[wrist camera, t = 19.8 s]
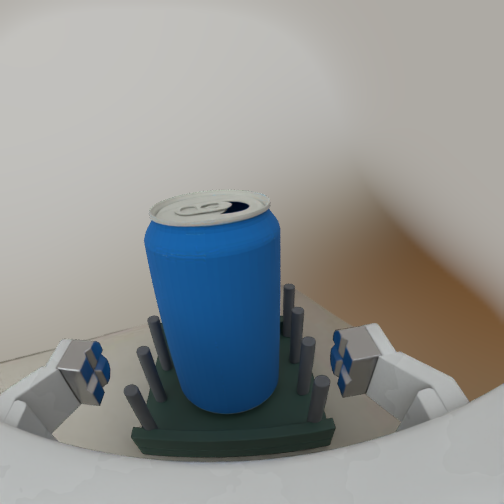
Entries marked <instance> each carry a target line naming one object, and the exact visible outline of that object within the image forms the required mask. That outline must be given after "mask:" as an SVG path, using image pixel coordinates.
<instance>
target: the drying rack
mask: <svg viewBox="0 0 504 504" xmlns="http://www.w3.org/2000/svg"><path fill="white" fill-rule="evenodd" d="M294 296H295V286H294V285H293V284H285V285H284V298H283V316H280V345H279V378H278V383H277V386H276V388H275V390H274V392H273V393H272V395H271V396H270V397H269V398H268V399H267V400H266V401H264V402H263V403H262V404H260V405H259V406H257V407H255V408H253V409H251V410H248V411H245V412H240V413H234V414H219V413H213V412H209V411H206V410H203V409H201V408H199V407H197V406H196V405H194V404H193V403H192V402H191V401H190V400H188V399H187V397H186V396H185V395H184V393H183V391H182V389H181V386H180V383H179V379H178V376H177V373H176V370H175V367H174V363H173V360H172V357H171V353H170V350H169V346H168V343H167V339H166V335H165V332H164V328H163V324H162V323H160V320H159V317H158V316H151V317H149V318H148V325H149V328H150V332H151V335H152V338H153V341H154V345H155V348H156V351H157V354H158V358H157V362H156V366H155V363H154V360H153V358H152V355H151V352H150V349H149V348H148V347H147V346H141V347H139V348H138V349H137V355H138V358H139V361H140V363H141V366H142V368H143V371H144V373H145V376H146V378H147V381H148V383H149V385H150V392H149V396H148V400H147V405H146V403H145V401H144V399H143V397H142V395H141V393H140V391H139V388H138V387H137V386H136V385H133V384H131V385H128V386H126V387H125V388H124V394H125V396H126V398H127V400H128V402H129V403H130V405H131V407H132V409H133V411H134V412H135V414H136V416H137V418H138V419H139V421H140V423H141V425H142V428H138V427H133V430H132V435H131V438H132V439H133V441H134V442H135V444H136V445H137V446H138V448H139V449H140V450H141V452H142V453H143V454H150V455H161V456H177V457H239V456H254V455H266V454H276V453H284V452H292V451H299V450H305V449H311V448H317V447H322V446H327V445H330V442H331V440H332V437H333V434H334V431H335V428H336V427H335V424H334V421H333V418H328V419H326V415H325V412H324V407H325V403H326V399H327V395H328V390H329V386H330V379H329V378H328V377H327V376H324V375H319V376H317V377H316V378H315V379H314V377H313V373H312V367H313V360H314V352H315V344H316V341H315V339H314V338H312V337H304V338H303V339H302V333H303V320H304V309H303V308H301V307H294Z"/></svg>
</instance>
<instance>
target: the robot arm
mask: <svg viewBox="0 0 504 504" xmlns="http://www.w3.org/2000/svg"><path fill="white" fill-rule="evenodd" d="M333 341H334V343H335V345H334V346H333V347H332V348H331V354H330V362H331V367H332V371H333V374H334V375H336V376H337V377H339V379H338V383H337V384H338V387H339V389H340V392H341V394H342V397H343V398H345V397H350V396H356V395H361V394H366V395H367V396H368V397H369V398H371V399H372V400H373V401H375V402H376V403H377V404H378V405H380V406H381V407H382V408H384V409H385V410H386V411H387V412H389V413H390V414H391V415H393V416H394V417H395V418H397V419H398V420H399V421H401V423H400V425H399V427H398V428H397V430H396V432H395V433H392V434H389V435H386V436H383V437H379V438H376V439H372V440H369V441H365V442H361V443H357V444H353V445H349V446H345V447H341V448H336V449H331V450H326V451H321V452H316V453H310V454H304V455H297V456H290V457H282V458H274V459H264V460H251V461H232V462H186V461H168V460H156V459H146V458H137V457H130V456H123V455H116V454H111V453H105V452H100V451H95V450H90V449H86V448H81V447H77V446H73V445H69V444H65V443H62V442H58V440H57V439H56V438H55V437H54V436H53V435H52V433H53V432H54V431H55V430H56V429H57V428H58V427H59V426H60V425H61V424H62V423H63V422H64V421H65V420H66V419H67V418H68V417H69V416H70V415H71V414H72V413H73V412H74V411H75V410H76V409H77V408H78V407H79V406H80V405H81V404H87V405H96V406H100V404H101V401H102V399H103V396H104V393H105V392H104V390H103V387H104V386H105V385H107V384H108V382H109V379H110V366H109V363H108V360H107V359H106V358H105V357H104V356H103V355H102V354H101V353H102V351H103V349H102V347H101V345H100V343H99V342H97V341H87V340H72V339H63V340H61V341H60V343H59V344H58V346H57V348H56V349H55V351H54V352H53V354H52V356H51V357H50V359H49V361H48V362H47V364H46V366H45V367H43V366H42V367H40V368H39V369H37V370H36V371H34V372H33V373H31V374H29V375H28V376H26V377H25V378H23V379H22V380H20V381H19V382H17V383H16V384H14V385H13V386H11V387H10V388H8V389H7V390H5V391H3V392H2V393H1V394H0V504H504V383H503V384H502V385H500V386H498V387H497V388H495V389H493V390H491V391H490V392H488V393H486V394H484V395H482V396H480V397H478V398H476V399H475V400H473V401H471V402H469V401H468V399H467V397H466V396H465V394H464V393H463V392H462V390H461V389H460V387H459V386H458V384H457V383H456V381H455V380H454V378H452V377H450V376H448V375H446V374H444V373H442V372H440V371H438V370H436V369H434V368H432V367H430V366H428V365H426V364H424V363H422V362H420V361H418V360H416V359H414V358H412V357H410V356H408V355H406V354H404V353H402V352H396V351H395V349H394V348H393V346H392V345H391V343H390V342H389V340H388V338H387V337H386V335H385V334H384V332H383V331H382V330H381V328H380V327H379V325H378V324H376V323H373V324H368V325H363V326H358V327H351V328H345V329H338V330H335V332H334V335H333Z"/></svg>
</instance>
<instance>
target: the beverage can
mask: <svg viewBox="0 0 504 504" xmlns="http://www.w3.org/2000/svg"><path fill="white" fill-rule="evenodd" d="M269 207H270V199H269V197H267V196H266V195H264V194H261V193H257V192H252V191H244V190H213V191H203V192H195V193H189V194H184V195H180V196H176V197H172V198H169V199H166V200H164V201H161V202H159V203H157V204H155V205H154V206H152V208H150V210H149V216H150V219H151V223H150V225H149V227H148V228H147V231H146V234H145V238H144V242H145V248H146V254H147V259H148V264H149V268H150V273H151V278H152V283H153V287H154V291H155V295H156V300H157V304H158V308H159V312H160V316H161V320H162V324H163V328H164V332H165V335H166V339H167V343H168V346H169V350H170V353H171V357H172V360H173V363H174V367H175V370H176V373H177V376H178V379H179V383H180V386H181V389H182V391H183V393H184V395H185V396H186V397H187V399H188V400H190V401H191V402H192V403H193V404H194V405H196V406H197V407H199V408H201V409H203V410H206V411H209V412H213V413H219V414H234V413H240V412H245V411H248V410H251V409H253V408H255V407H257V406H259V405H260V404H262V403H263V402H264V401H266V400H267V399H268V398H269V397H270V396H271V395H272V393H273V392H274V390H275V388H276V386H277V383H278V378H279V345H280V226H279V223H278V220H277V219H276V217H275V216H274V215H273V214H272V212H271V211H270V210H269Z"/></svg>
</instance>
